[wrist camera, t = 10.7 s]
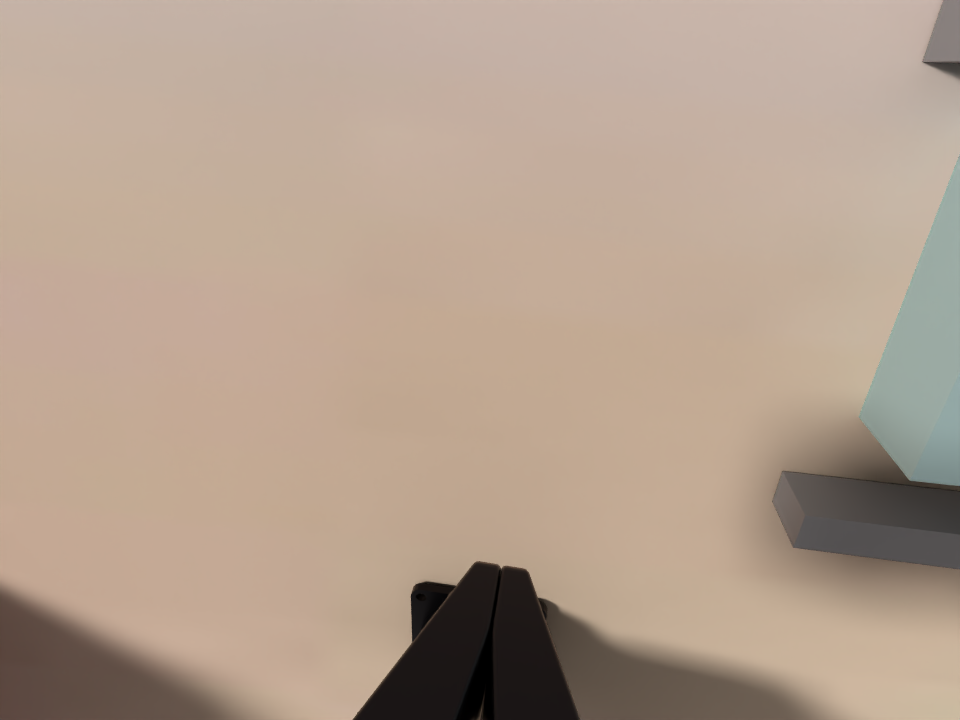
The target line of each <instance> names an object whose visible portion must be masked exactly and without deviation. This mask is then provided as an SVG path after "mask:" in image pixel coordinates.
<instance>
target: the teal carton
mask: <svg viewBox="0 0 960 720" xmlns="http://www.w3.org/2000/svg"><path fill="white" fill-rule="evenodd" d="M859 418H860V419H861V420H862V422H863V423H864V424H865V425H866V427H867V428H868V429H869V430H870V432H871V433H872V434H873V435H874V437H875V438H876V439H877V440H878V442H879V443H880V444H881V445H882V447H883V448H884V449H885V450H886V452H887V453H888V454H889V455H890V457H891V458H892V459H893V460H894V462H895V463H896V464H897V465H898V467H899V468H900V469H901V470H902V472H903V473H904V474H905V475H906V477H907V478H908V479H909V480H910V481H918V482H927V483H936V484H945V485H954V486H960V154H959V157H958V160H957V162H956V165H955V167H954V170H953V173H952V175H951V178H950V180H949V183H948V186H947V188H946V191H945V194H944V196H943V199H942V201H941V204H940V207H939V209H938V212H937V214H936V217H935V220H934V222H933V225H932V227H931V230H930V233H929V235H928V238H927V240H926V243H925V246H924V248H923V251H922V253H921V256H920V259H919V261H918V264H917V266H916V269H915V272H914V274H913V277H912V279H911V282H910V285H909V287H908V290H907V292H906V295H905V298H904V300H903V303H902V305H901V308H900V311H899V313H898V316H897V318H896V321H895V324H894V326H893V329H892V331H891V334H890V337H889V339H888V342H887V344H886V347H885V350H884V352H883V355H882V357H881V360H880V363H879V365H878V368H877V370H876V373H875V376H874V378H873V381H872V384H871V386H870V389H869V391H868V394H867V397H866V399H865V402H864V404H863V407H862V410H861V412H860V415H859Z"/></svg>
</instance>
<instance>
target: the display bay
mask: <svg viewBox="0 0 960 720" xmlns="http://www.w3.org/2000/svg"><path fill="white" fill-rule="evenodd" d="M923 62H942V63H960V0H943V3H942V6H941V9H940V12H939V15H938V18H937V21H936V24H935V27H934V29H933V32H932V35H931V38H930V41H929V44H928V47H927V50H926V53H925V56H924V59H923ZM772 502H773V504H774V506H775V508H776V511H777V513H778V515H779V517H780V520H781V522H782V524H783V526H784V528H785V531H786V533H787V535H788V537H789V539H790V542H791V544H792V546H793V548H801V549H808V550H816V551H823V552H831V553H839V554H846V555H854V556H862V557H869V558H877V559H885V560H892V561H900V562H907V563H915V564H923V565H930V566H938V567H946V568H953V569H960V492H959V491H950V490H941V489H933V488H924V487H916V486H907V485H898V484H890V483H881V482H873V481H864V480H855V479H847V478H838V477H829V476H821V475H812V474H804V473H795V472H786V471H783V472H782V474H781V477H780V480H779V483H778V486H777V489H776V492H775V495H774V498H773V501H772Z"/></svg>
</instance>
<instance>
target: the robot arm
mask: <svg viewBox="0 0 960 720" xmlns="http://www.w3.org/2000/svg"><path fill="white" fill-rule="evenodd" d="M411 614H412V644H411V645H410V646H409V648H408V649H407V650H406V651H405V653H404V654H403V655H402V657H401V658H400V659H399V660H398V662H397V663H396V664H395V666H394V667H393V668H392V669H391V671H390V672H389V673H388V675H387V676H386V677H385V678H384V680H383V681H382V682H381V684H380V685H379V686H378V688H377V689H376V690H375V691H374V693H373V694H372V695H371V697H370V698H369V699H368V700H367V702H366V703H365V704H364V706H363V707H362V708H361V709H360V711H359V712H358V713H357V715H356V716H355V717H354V718H353V720H580V718H579V715H578V712H577V709H576V706H575V703H574V701H573V698H572V695H571V692H570V689H569V686H568V683H567V680H566V678H565V675H564V672H563V669H562V666H561V663H560V660H559V657H558V655H557V652H556V649H555V646H554V643H553V640H552V637H551V635H550V632H549V629H548V626H547V623H546V617H547V606H546V605H545V604H544V603H543V602H541V601H539V600H538V597H537V594H536V591H535V589H534V586H533V583H532V580H531V577H530V574H529V572H528V571H527V570H526V569H523V568H517V567H511V566H504V567H502V569H501V568H500V566H499V565H498V564H493V563H487V562H480V561H477V562H475V563H474V564H473V565H472V566H471V568H470V569H469V570H468V571H467V573H466V574H465V575H464V577H463V578H462V579H461V580H460V582H459V583H458V584H457V586H456V587H455V588H451V587H444V586H438V585H431V584H424V583H419V584H416V585H415V586H414V587H413V591H412V594H411Z"/></svg>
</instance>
